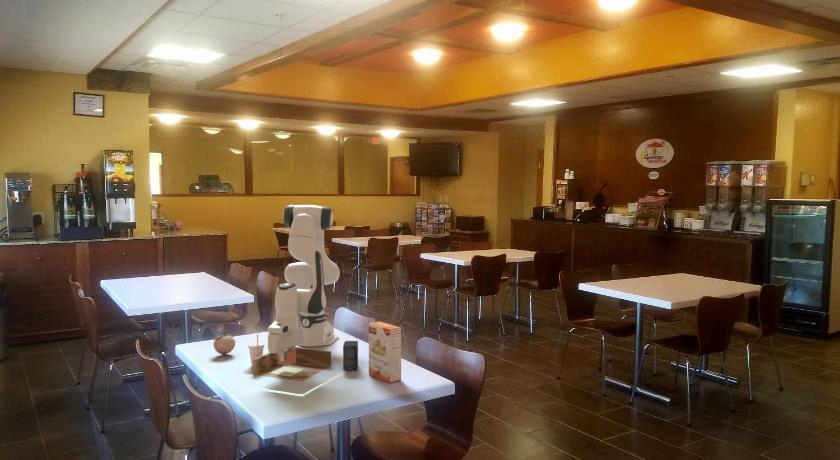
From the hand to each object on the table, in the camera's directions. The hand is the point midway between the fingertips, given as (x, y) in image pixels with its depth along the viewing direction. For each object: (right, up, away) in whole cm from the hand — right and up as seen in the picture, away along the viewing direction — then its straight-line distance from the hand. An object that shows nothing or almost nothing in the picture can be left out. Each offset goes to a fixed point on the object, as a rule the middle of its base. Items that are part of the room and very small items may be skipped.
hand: (287, 359), depth 235 cm
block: (0, -2, 0) cm, 2 cm away
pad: (0, -5, 0) cm, 5 cm away
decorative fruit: (-33, -4, +26) cm, 42 cm away
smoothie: (-14, -6, +8) cm, 17 cm away
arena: (+2, -6, +3) cm, 7 cm away
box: (+24, -6, +8) cm, 26 cm away
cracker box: (+39, -7, -4) cm, 40 cm away
